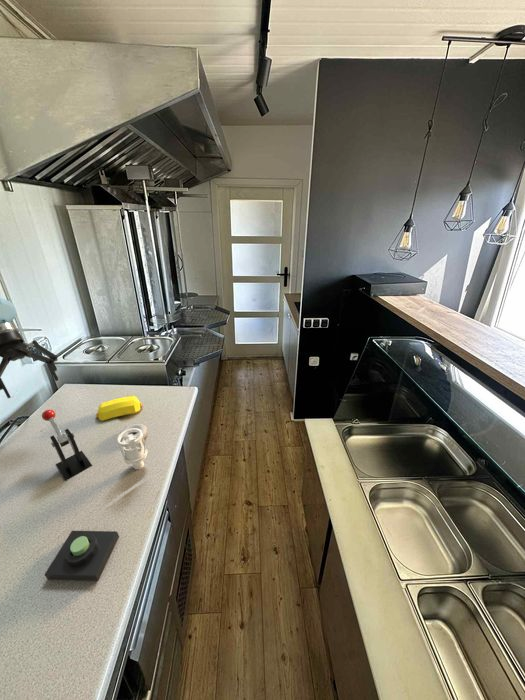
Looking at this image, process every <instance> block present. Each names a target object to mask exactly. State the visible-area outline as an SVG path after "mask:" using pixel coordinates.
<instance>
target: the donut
mask: <svg viewBox="0 0 525 700" xmlns="http://www.w3.org/2000/svg"><path fill="white" fill-rule="evenodd" d="M131 428H138V429H140V430H141V431H142V434H143V437H144V440H145V439H146V437H148V436H147V435H148V427H147V426H146V425H145V424H142V423H131V424H129V425H127V426H125V427H124V428H123V429H122V430H120V431H119V435H120V434H121V433H122V432H124V431H126V430H128V429H131ZM130 434H132V435H133V436H138V438H139V436H140V433H139V432H130V433H128V434H126V435H124V436H123V437H122V438H121V440H120V442H122V441H123V439H124V440H126V439H128V438H129V437H128V435H130ZM119 435H118V436H119ZM141 440H142V439H141Z"/></svg>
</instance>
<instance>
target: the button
mask: <svg viewBox="0 0 525 700" xmlns="http://www.w3.org/2000/svg"><path fill="white" fill-rule="evenodd" d="M89 545H90V543H89V541H88V539H87V537H85V536H81V537H79V538H77V539H75V540H74V541H73V543H72V544H71V546H70V550H71V552H72V554H73V555H74V556H80V555H82V554H84V553H85V552H86V551H87V550H88V548H89Z"/></svg>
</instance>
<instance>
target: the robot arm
mask: <svg viewBox="0 0 525 700" xmlns="http://www.w3.org/2000/svg"><path fill="white" fill-rule="evenodd" d="M16 316H17V309H16V306H15V305H14V304H13V303H12V302H11V301H10V300H8V299H5V298H4V299H3V298H0V358H1V361H0V391H3V392H4V394H5V395H6V398H7V399H11V398H12V397H11V395H10V393H9V391H8V388H7V387H6V385H5V383H4V381H3V378H2V376H3V374H4V372H5V370H6V368H7V367H8V365H9V363H11V362H15V361H18V360H22V359H25V358H30V359H33V360H36V361H38V362H42V363H45V364H46V365H47V368H48V370H49V372H50V373H51V375H52V377H53V379H54V381H55V382H58V381H59V376H58V375H57V373H56V372H57V371H58V367H57V365H56V364H55V362H57V361H58V359H59V358H58V355H56V354H55V353H53V352H52V351H50V350H49V349H47V348H46V347H44V346H42V345H40V344H39V343H38V340H35V339H33V340H32V342H30V343H29V342H28V343H26V342H25V339H24V338H23V336H22V334H21V333H20V331H19V329H18V327H17V325H16V323H15V322H14V319H15V318H16ZM30 348H32V349H35V350H36V351H38V352H39V353H36V352H34V351H32V350H30Z"/></svg>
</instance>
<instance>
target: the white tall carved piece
mask: <svg viewBox="0 0 525 700" xmlns="http://www.w3.org/2000/svg"><path fill="white" fill-rule="evenodd" d="M130 432H139V433H140V436H139V438H138V436H133V435H134V434H133V433H131V434H130V435H128V437H129V438H128V439H126V440H124V439H123V441H122V442H120V440H121V438H122V437H123V436H124V435H126V434H128V433H130ZM119 434H120V433H119ZM141 439H142V440H141ZM117 443H118V446H119V450H120V453H121V455H122V457H123V462H124V463H125V464H127V465H133V468H134V470H140V469H142V468H143V467H144V466H145V463H144V460H145V459H146V457H147V456H148V453H149V452H148V449H147V446H146V445H147V444H146V441H145V439H144V437H143V434H142V431H141V430H140V429H138V428H131V429H128V430H126V431H124V432H122V433H121V434H120V435H118V436H117Z"/></svg>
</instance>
